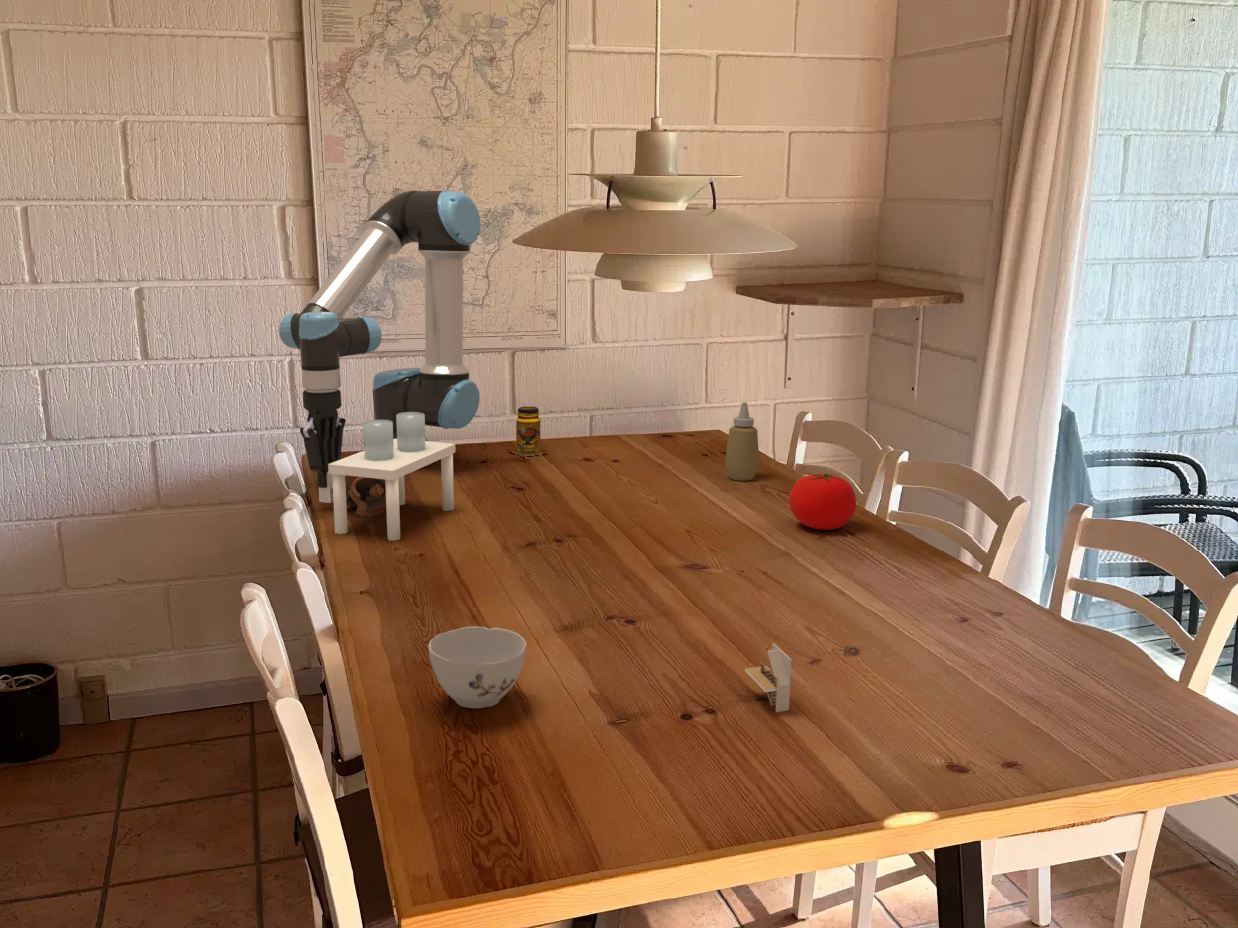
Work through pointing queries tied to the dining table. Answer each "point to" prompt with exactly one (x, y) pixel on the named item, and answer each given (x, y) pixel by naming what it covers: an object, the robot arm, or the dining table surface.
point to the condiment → (528, 431)
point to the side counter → (391, 480)
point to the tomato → (822, 501)
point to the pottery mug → (365, 495)
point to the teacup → (477, 664)
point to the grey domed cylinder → (410, 431)
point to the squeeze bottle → (742, 447)
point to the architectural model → (774, 678)
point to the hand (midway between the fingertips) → (326, 501)
